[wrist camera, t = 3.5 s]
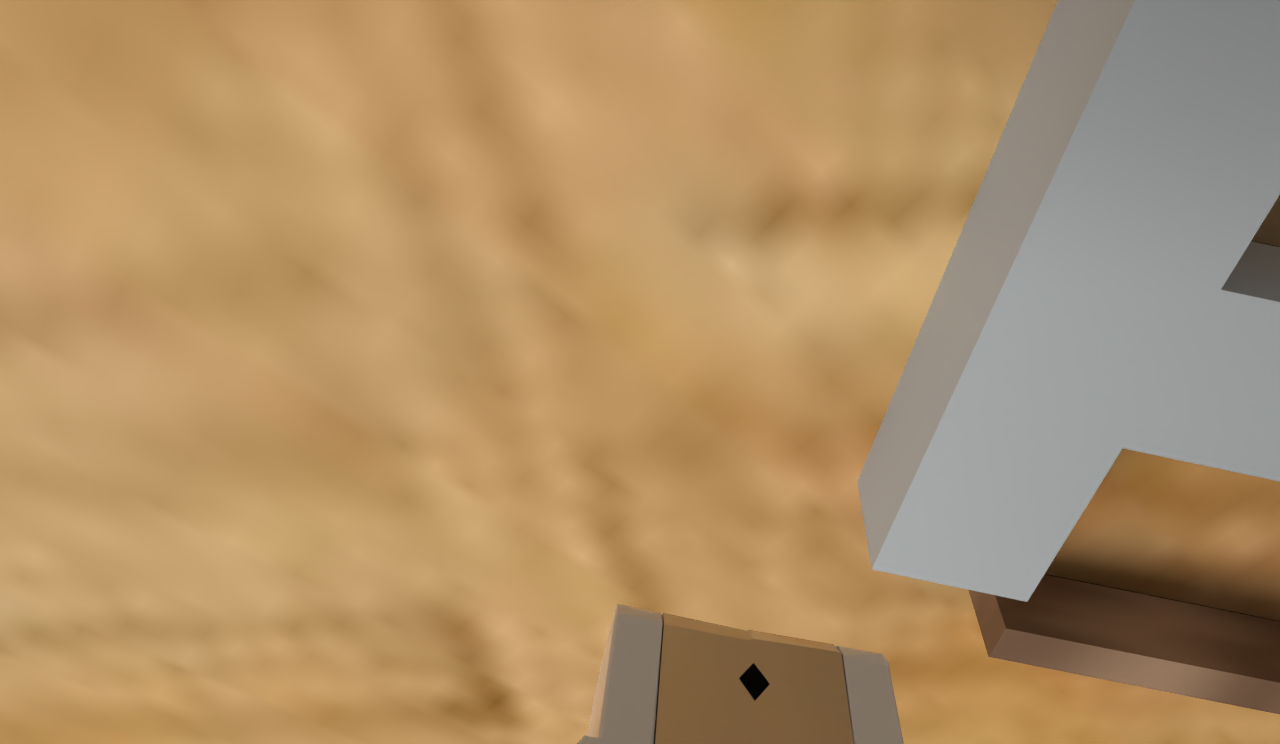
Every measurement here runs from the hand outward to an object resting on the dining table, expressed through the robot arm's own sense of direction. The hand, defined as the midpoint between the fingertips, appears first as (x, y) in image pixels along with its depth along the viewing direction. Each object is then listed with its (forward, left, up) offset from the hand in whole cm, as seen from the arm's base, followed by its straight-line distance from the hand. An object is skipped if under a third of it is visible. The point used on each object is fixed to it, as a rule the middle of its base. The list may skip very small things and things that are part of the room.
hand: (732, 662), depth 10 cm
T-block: (-11, 0, -13) cm, 17 cm away
